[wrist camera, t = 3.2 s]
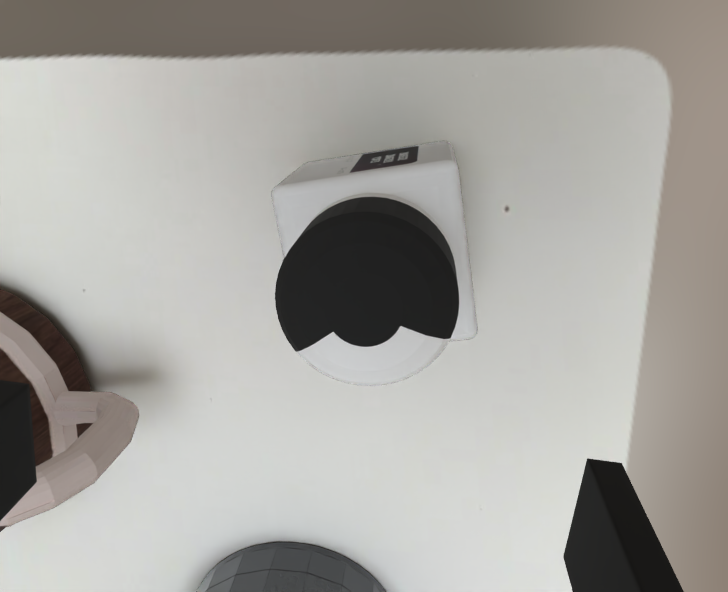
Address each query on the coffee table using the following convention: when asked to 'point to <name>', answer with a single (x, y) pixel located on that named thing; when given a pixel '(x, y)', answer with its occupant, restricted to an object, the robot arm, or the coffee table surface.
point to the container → (374, 262)
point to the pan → (288, 571)
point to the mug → (59, 410)
